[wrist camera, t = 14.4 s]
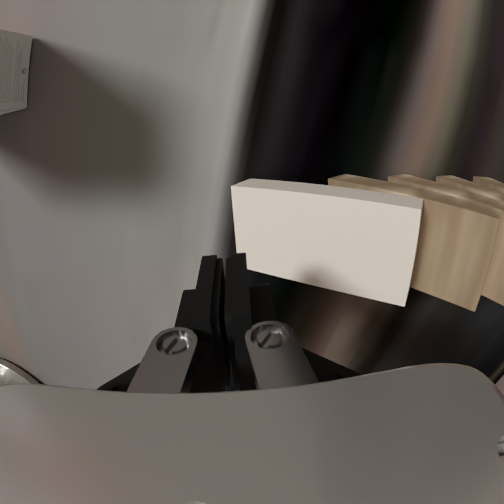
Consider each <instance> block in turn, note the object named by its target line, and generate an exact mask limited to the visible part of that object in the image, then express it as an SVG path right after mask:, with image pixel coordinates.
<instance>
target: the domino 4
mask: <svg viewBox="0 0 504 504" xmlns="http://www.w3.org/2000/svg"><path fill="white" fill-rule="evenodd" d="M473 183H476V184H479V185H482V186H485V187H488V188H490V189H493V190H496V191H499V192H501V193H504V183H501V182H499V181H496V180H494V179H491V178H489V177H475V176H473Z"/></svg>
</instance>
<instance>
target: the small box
mask: <svg viewBox="0 0 504 504" xmlns="http://www.w3.org/2000/svg"><path fill="white" fill-rule="evenodd" d="M31 44H32V36H28V35H23V34H19V33H14V32H9V31H4V30H0V115H2V114H6V113H10V112H14V111H17V110H22V109H26V108H27V89H28V73H29V61H30V52H31Z"/></svg>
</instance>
